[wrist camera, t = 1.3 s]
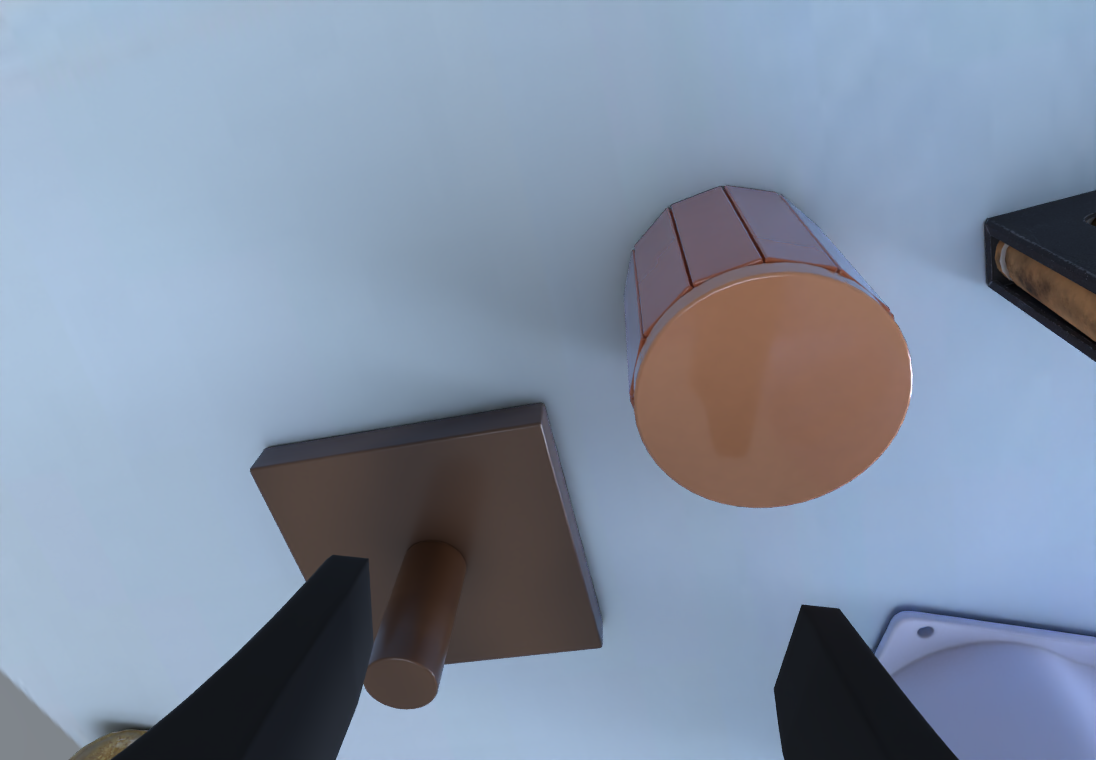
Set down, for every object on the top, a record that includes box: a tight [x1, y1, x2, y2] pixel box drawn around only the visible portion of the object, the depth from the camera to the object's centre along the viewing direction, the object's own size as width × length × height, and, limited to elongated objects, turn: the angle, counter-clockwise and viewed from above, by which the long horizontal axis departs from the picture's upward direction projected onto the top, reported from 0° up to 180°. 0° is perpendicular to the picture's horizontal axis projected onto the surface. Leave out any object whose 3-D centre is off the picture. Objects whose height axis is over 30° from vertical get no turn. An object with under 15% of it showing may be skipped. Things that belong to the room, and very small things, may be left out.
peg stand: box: [250, 403, 603, 709], centre depth 22 cm, size 9×9×6 cm
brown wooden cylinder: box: [624, 185, 913, 508], centre depth 17 cm, size 5×5×6 cm
